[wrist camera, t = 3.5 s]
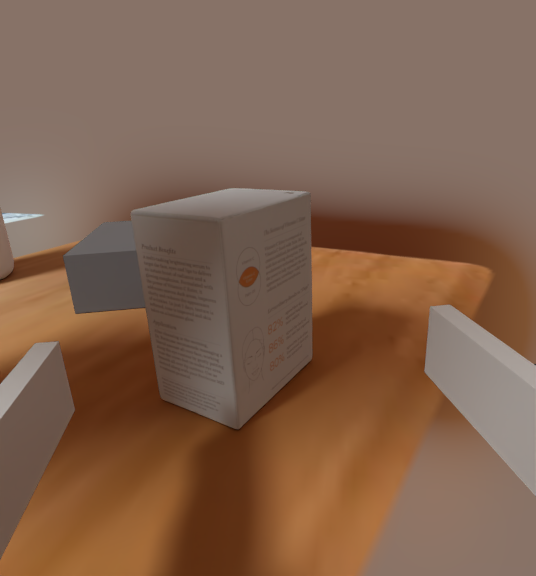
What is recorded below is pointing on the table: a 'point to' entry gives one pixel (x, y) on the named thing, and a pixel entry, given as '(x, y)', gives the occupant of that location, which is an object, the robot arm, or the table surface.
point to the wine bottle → (5, 251)
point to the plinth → (105, 270)
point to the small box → (227, 297)
